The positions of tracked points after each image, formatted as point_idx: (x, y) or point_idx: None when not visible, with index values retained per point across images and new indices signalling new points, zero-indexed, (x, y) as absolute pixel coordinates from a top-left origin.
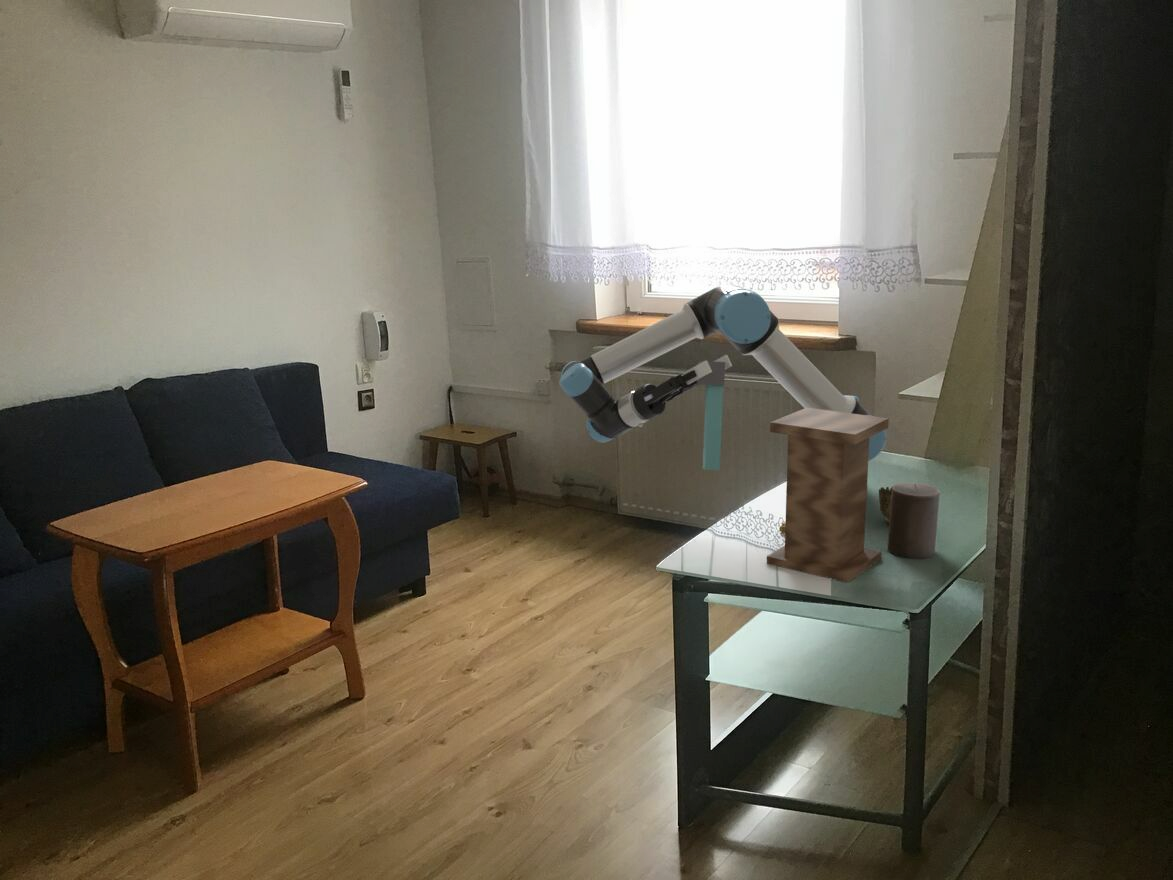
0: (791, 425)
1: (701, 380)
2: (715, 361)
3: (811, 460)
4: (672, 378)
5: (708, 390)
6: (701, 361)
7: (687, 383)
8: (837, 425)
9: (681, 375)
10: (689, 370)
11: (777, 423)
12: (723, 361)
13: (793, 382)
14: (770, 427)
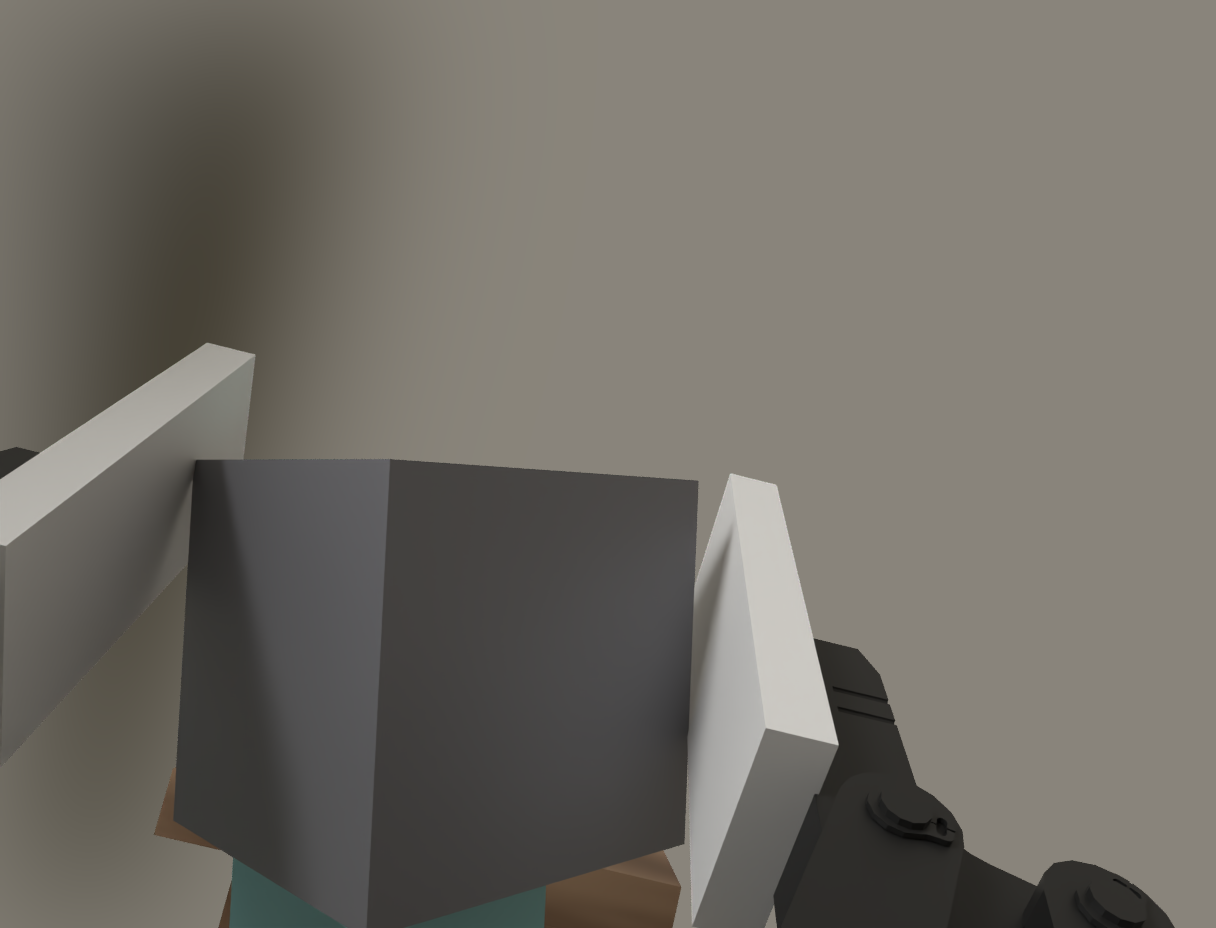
0: (662, 850)
1: (682, 773)
2: (173, 434)
3: None
4: (1129, 903)
5: (544, 900)
6: (688, 483)
7: (767, 915)
8: None
9: (872, 792)
10: (810, 654)
11: (672, 874)
12: (220, 441)
13: None
14: (673, 921)
